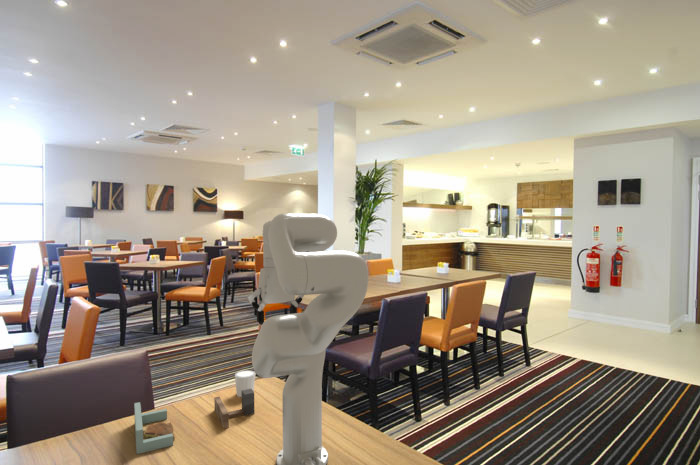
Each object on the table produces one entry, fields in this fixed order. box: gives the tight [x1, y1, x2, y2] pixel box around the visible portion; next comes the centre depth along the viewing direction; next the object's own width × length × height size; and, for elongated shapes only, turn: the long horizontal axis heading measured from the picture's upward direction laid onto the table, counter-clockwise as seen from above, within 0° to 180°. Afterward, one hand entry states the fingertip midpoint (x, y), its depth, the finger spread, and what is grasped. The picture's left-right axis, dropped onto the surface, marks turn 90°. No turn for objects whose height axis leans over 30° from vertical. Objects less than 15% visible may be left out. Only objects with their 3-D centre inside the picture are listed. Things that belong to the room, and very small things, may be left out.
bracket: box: [133, 401, 174, 455], centre depth 114 cm, size 18×8×6 cm, turn 29°
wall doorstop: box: [214, 389, 255, 429], centre depth 125 cm, size 13×10×6 cm
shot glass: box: [234, 369, 256, 398], centre depth 140 cm, size 7×7×7 cm
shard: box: [143, 421, 176, 442], centre depth 113 cm, size 11×8×2 cm
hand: (277, 322), depth 120 cm, fingers open, 9 cm apart
